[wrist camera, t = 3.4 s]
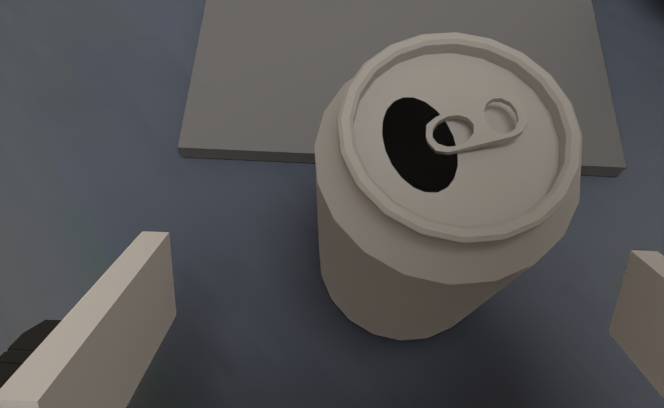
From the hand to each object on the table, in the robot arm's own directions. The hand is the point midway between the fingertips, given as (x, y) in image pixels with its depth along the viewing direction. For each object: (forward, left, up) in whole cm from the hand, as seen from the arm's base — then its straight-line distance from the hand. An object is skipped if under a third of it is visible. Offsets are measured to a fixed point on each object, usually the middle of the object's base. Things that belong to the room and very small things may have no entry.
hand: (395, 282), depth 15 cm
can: (-1, -3, -9) cm, 9 cm away
